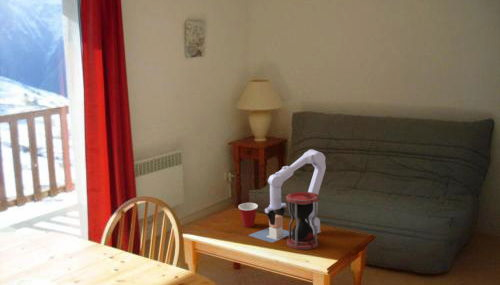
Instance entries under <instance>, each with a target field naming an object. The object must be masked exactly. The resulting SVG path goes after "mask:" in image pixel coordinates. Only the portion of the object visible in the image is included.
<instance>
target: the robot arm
mask: <svg viewBox="0 0 500 285" xmlns="http://www.w3.org/2000/svg"><path fill="white" fill-rule="evenodd" d="M306 164H311V165H312V166H313V167H314V169H313V170H314V171H313V175H312V178H311V181H310V184H309V187H308V191H307V192H311V193H315V194H317V195H318V196H319V192H320V189H321V187H322V186H321V185H322V183H323V179H324V175H325V172H326V168H327V167H326V156H325V155H324V153H323V152H321V151H318V150H315V149H313V148H312V149H308V150H307V151H305V152H304V153H303V155H301V156H300V157H299V158H298V159H297V160H295V161H294V162H293V163H292V164H291V165H289V166H288V165H285V166H282V167H281V169H280V170H279V171H277V172H275V173H273V174H271V175H269V177H268V179H267V183H268V185H269V205H268V207H266V208H264V213H265V214H266V216H267V217H268V221H269V220H270V224H271V225H274V223H275V215H280V216H283V217H284V214H285V212H286V208H287V203H286V202H282V186H283V185H284V182H285V181H286V180H288V179H289V178H291V176H293V175H294V172H295V171H296V170H298V169H299V168H301V167H304V165H306ZM318 206H319V204H318V203H317V207H318ZM314 215H315V202H314V203H313V211H312V213H311V214H310V215H309V221H310V226H311V227H312V229H313V236H315V229H314V227H313V226H312V223H311V221H312V218H313V217H314ZM305 221H306V222H307V220H306V219H305ZM307 223H308V222H307ZM314 224H315V226H316V228H317V234H319V233H321V232H322V230H321V220H320V218H318V217H317V216H316V218H315V219H314Z"/></svg>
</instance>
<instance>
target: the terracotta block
mask: <svg viewBox="0 0 500 285" xmlns="http://www.w3.org/2000/svg"><path fill="white" fill-rule="evenodd" d="M283 217H284V215H283V216H280V215H277V214H276V215H275V223H274V225H271V224H270V220H269V219H268V226H269V227H275V228H277V227H280V226H281V227H283V226H284V224H283V223H284V220H283V219H284V218H283Z"/></svg>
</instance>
